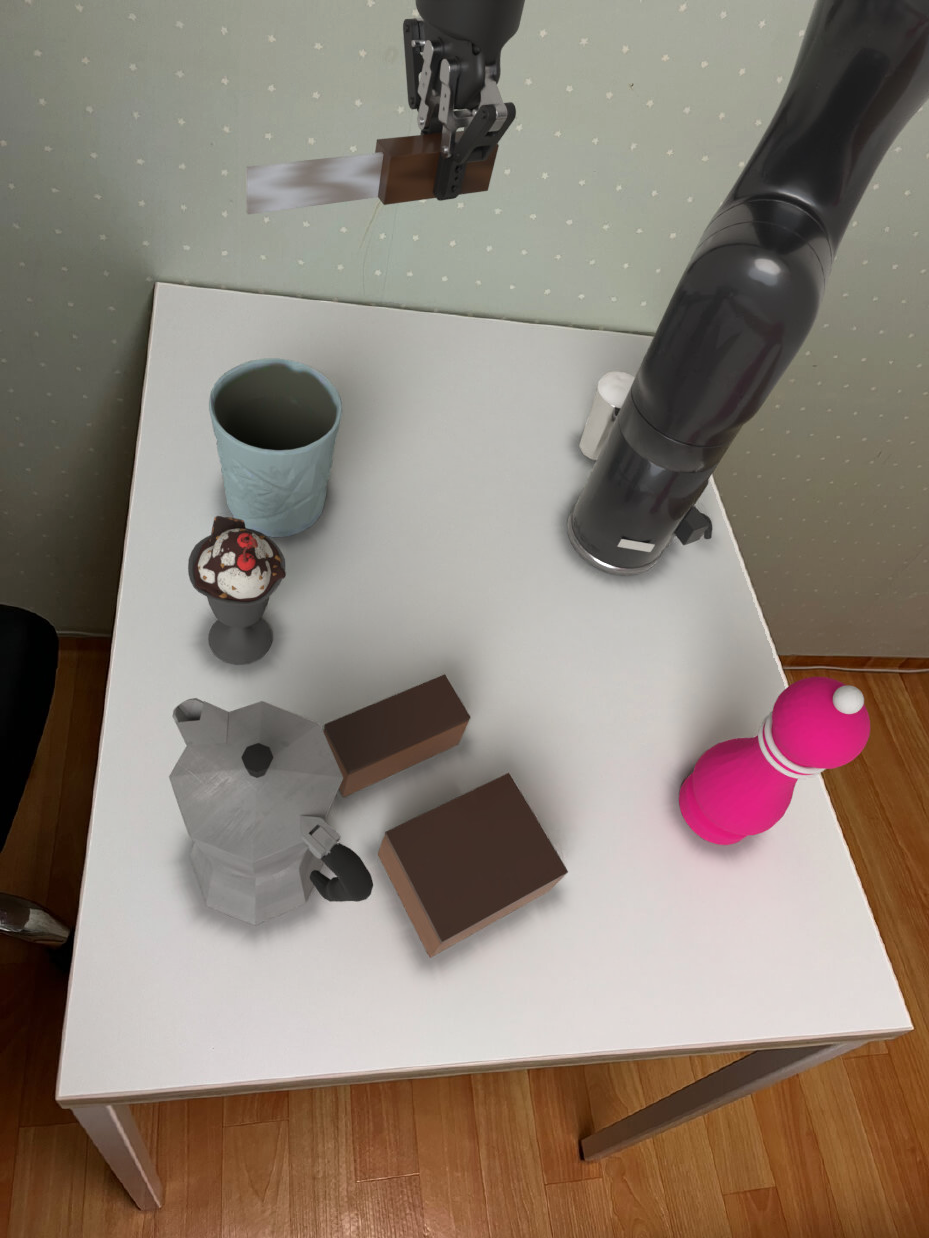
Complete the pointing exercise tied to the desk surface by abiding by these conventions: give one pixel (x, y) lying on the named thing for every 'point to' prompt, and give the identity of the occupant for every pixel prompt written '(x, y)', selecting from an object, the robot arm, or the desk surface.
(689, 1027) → the desk surface
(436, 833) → the cake
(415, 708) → the cake slice
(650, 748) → the desk surface
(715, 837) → the pepper mill
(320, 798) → the coffeepot
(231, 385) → the blue ceramic cup
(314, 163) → the knife
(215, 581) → the sundae
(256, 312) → the desk surface
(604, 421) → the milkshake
